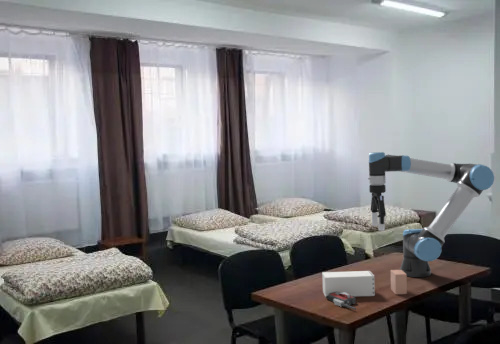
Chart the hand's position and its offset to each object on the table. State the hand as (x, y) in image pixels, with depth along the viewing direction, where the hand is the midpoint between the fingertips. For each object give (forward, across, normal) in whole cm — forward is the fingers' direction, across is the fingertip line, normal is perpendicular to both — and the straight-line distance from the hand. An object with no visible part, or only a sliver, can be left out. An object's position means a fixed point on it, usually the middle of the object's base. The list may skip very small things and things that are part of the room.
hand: (378, 228), depth 249 cm
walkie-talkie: (+27, +30, -22) cm, 46 cm away
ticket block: (+27, +16, -18) cm, 36 cm away
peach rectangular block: (+27, +16, +5) cm, 32 cm away
